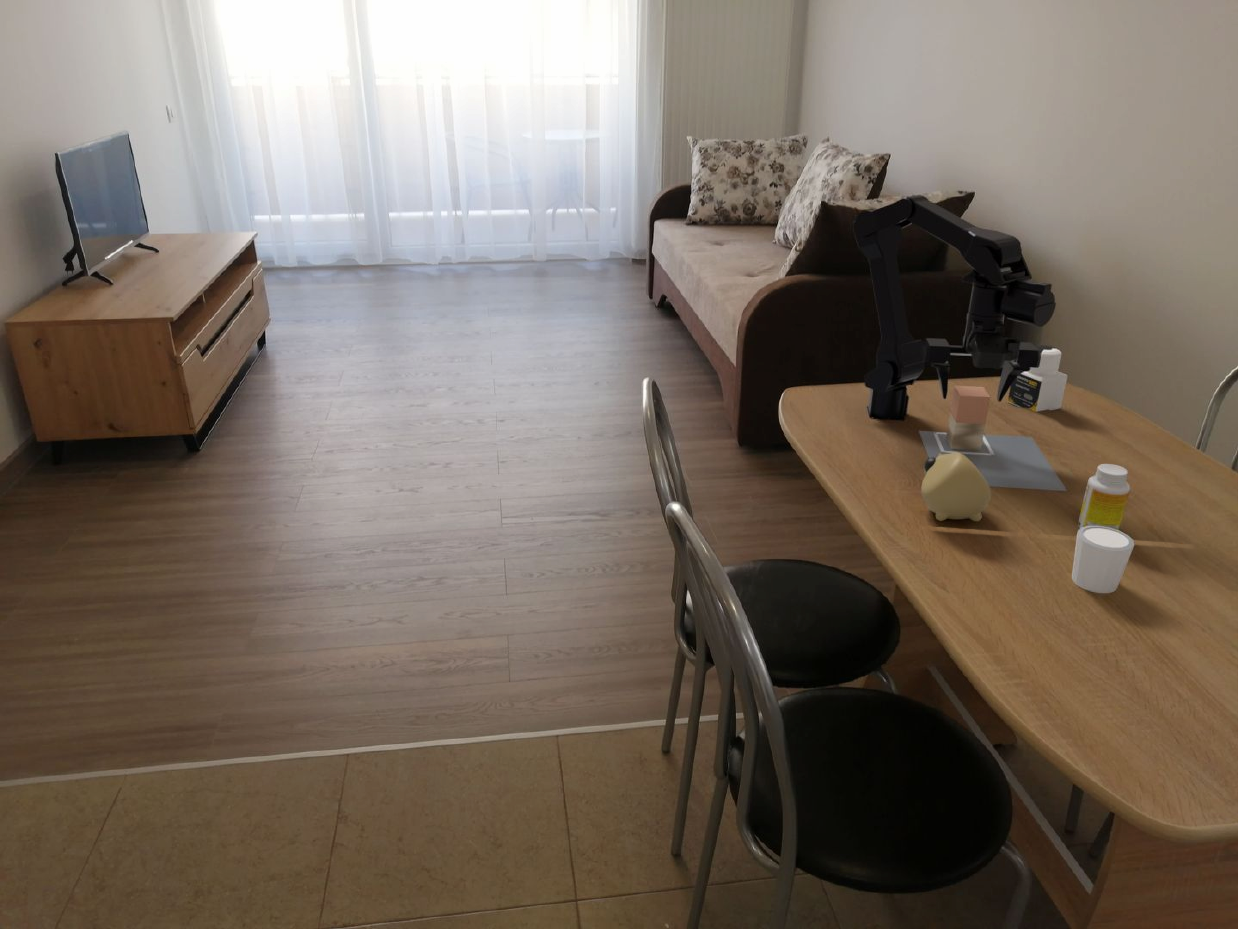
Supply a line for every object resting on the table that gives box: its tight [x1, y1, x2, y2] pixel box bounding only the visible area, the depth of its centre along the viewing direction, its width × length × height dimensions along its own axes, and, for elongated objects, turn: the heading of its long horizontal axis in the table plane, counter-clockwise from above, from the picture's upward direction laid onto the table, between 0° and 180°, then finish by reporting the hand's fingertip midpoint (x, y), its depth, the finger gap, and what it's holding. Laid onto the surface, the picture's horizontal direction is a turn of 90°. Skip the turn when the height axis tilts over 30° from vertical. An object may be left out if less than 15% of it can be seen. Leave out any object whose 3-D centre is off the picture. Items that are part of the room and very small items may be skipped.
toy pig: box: [920, 452, 993, 522], centre depth 142 cm, size 10×12×11 cm
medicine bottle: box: [1007, 344, 1068, 413], centre depth 183 cm, size 7×7×12 cm
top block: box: [949, 385, 991, 425], centre depth 164 cm, size 5×5×5 cm
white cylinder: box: [1071, 526, 1135, 594], centre depth 125 cm, size 7×7×7 cm
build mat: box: [918, 430, 1068, 492], centre depth 162 cm, size 20×22×1 cm
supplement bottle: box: [1077, 463, 1131, 531], centre depth 138 cm, size 6×6×10 cm
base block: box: [946, 412, 986, 450], centre depth 166 cm, size 5×5×5 cm
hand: (971, 399), depth 164 cm, fingers open, 9 cm apart
